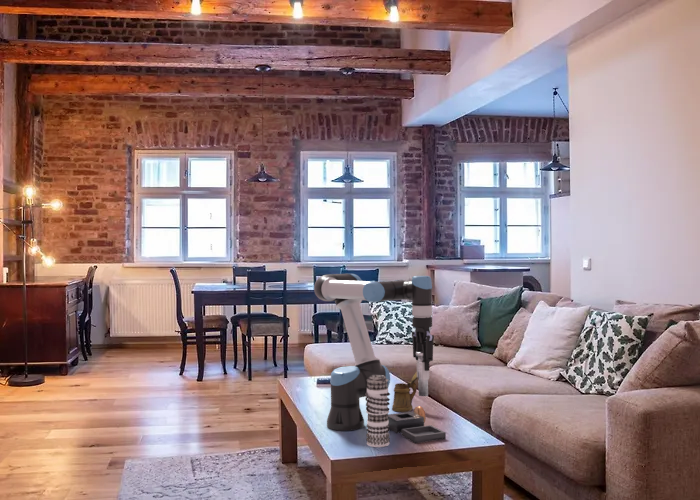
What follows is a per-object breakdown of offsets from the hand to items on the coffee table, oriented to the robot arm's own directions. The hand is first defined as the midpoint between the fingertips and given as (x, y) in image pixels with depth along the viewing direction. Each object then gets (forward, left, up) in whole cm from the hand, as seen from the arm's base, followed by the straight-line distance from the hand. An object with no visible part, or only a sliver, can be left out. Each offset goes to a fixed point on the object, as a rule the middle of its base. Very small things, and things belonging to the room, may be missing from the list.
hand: (423, 377), depth 247 cm
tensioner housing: (0, +14, -23) cm, 26 cm away
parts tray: (0, 0, -23) cm, 23 cm away
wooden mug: (+14, +40, -23) cm, 48 cm away
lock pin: (0, 0, -7) cm, 7 cm away
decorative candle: (-19, 0, -23) cm, 30 cm away
